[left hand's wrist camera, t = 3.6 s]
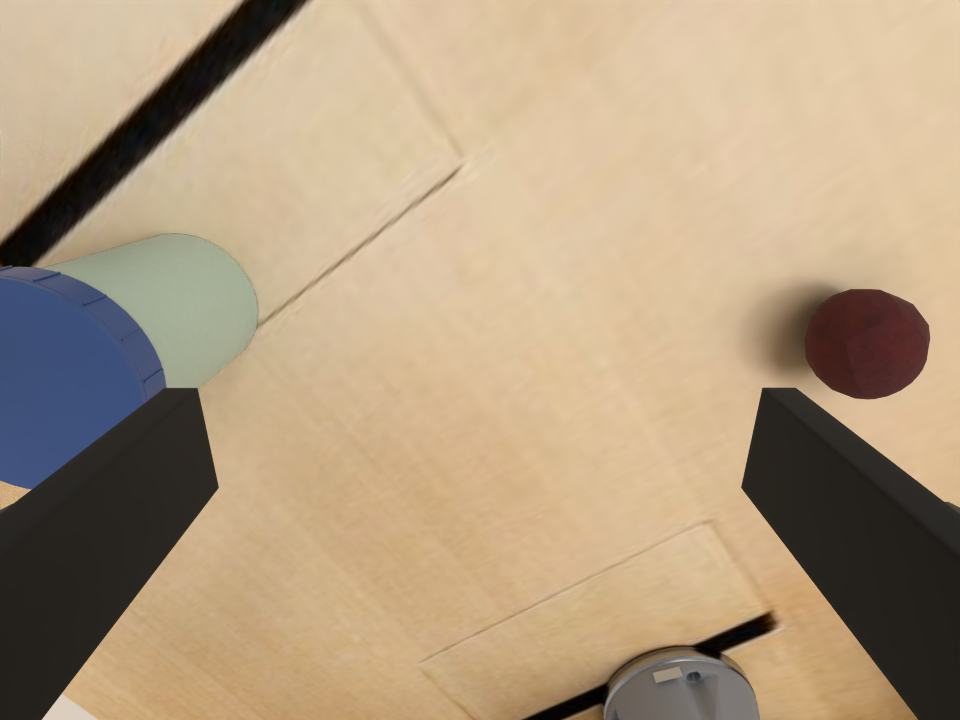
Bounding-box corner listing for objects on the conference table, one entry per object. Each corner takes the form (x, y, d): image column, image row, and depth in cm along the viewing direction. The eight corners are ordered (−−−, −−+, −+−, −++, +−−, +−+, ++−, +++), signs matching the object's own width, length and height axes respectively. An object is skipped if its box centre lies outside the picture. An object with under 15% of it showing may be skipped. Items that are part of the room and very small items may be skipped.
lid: (175, 478, 30) (153, 503, 28) (-34, 456, 30) (-72, 479, 27) (157, 282, 26) (130, 294, 24) (-86, 252, 25) (-136, 261, 23)
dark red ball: (806, 389, 43) (865, 433, 36) (768, 311, 41) (824, 343, 34) (898, 341, 41) (976, 378, 35) (864, 257, 39) (941, 280, 32)
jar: (259, 373, 43) (148, 489, 28) (126, 357, 42) (-57, 467, 28) (257, 243, 39) (126, 301, 24) (111, 224, 38) (-110, 271, 24)
